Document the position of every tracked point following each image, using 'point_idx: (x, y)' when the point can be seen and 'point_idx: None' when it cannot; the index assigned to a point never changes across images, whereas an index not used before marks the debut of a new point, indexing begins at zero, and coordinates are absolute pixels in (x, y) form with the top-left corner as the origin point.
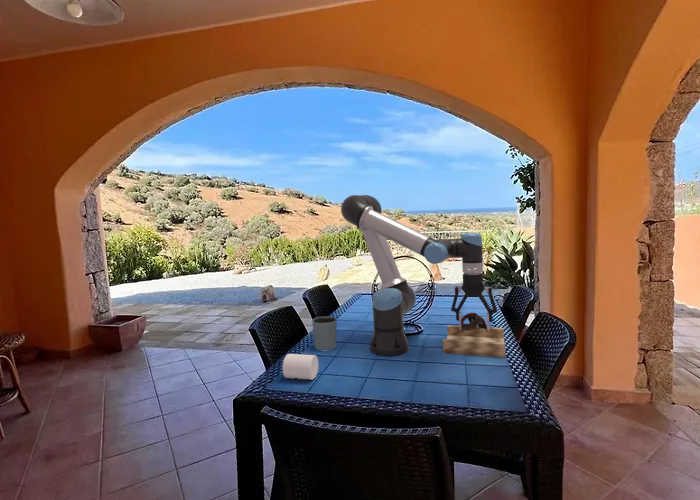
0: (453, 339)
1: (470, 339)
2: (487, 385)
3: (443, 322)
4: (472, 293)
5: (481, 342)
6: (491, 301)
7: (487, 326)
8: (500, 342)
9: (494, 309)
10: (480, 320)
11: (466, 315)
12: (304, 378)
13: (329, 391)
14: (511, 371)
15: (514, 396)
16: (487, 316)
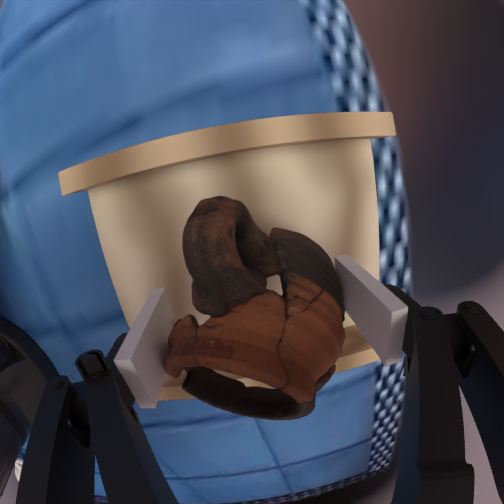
0: (132, 244)
1: None
2: (318, 456)
3: (50, 8)
4: None
5: None
6: (485, 427)
7: (349, 312)
8: (362, 202)
9: (461, 369)
10: (322, 386)
11: (195, 366)
12: None
13: (101, 493)
14: (374, 395)
15: (360, 457)
16: (382, 353)
